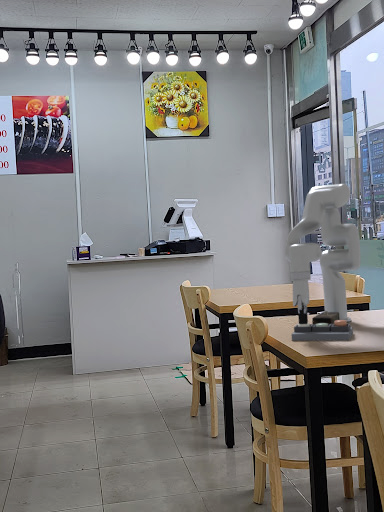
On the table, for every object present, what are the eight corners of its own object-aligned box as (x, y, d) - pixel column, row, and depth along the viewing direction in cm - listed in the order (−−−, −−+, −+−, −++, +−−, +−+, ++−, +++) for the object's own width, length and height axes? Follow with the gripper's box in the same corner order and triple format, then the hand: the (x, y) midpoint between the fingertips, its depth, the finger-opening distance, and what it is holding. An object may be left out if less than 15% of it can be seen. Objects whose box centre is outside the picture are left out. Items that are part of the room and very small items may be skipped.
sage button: (317, 328, 244) (317, 323, 244) (328, 328, 243) (328, 323, 243) (315, 330, 240) (315, 325, 240) (327, 330, 239) (326, 324, 238)
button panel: (298, 334, 252) (298, 322, 252) (352, 333, 244) (352, 322, 244) (291, 340, 239) (291, 328, 238) (348, 340, 231) (348, 328, 231)
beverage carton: (340, 325, 267) (339, 310, 266) (332, 333, 249) (331, 317, 249) (321, 325, 270) (321, 310, 270) (312, 333, 252) (311, 317, 252)
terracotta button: (335, 325, 242) (335, 320, 242) (347, 325, 240) (347, 319, 240) (334, 327, 238) (333, 321, 238) (346, 327, 236) (345, 321, 236)
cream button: (299, 327, 247) (299, 322, 247) (310, 327, 245) (310, 322, 245) (297, 329, 243) (296, 324, 242) (308, 329, 241) (308, 324, 241)
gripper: (294, 275, 251) (297, 321, 252) (286, 278, 237) (289, 326, 238) (313, 274, 249) (316, 320, 249) (306, 277, 235) (309, 326, 235)
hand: (303, 323), depth 244 cm, fingers closed
